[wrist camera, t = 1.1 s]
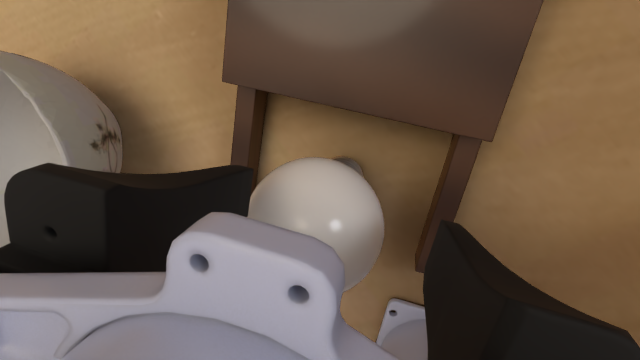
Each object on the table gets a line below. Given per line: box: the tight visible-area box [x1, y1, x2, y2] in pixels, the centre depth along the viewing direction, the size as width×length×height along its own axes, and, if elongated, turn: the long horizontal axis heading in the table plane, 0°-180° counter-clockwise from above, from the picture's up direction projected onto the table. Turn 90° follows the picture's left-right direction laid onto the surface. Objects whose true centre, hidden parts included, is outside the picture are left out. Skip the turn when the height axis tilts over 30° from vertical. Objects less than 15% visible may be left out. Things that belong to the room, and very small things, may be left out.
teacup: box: [0, 51, 123, 248], centre depth 25 cm, size 15×12×8 cm
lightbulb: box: [247, 156, 384, 293], centre depth 19 cm, size 6×6×11 cm
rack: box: [222, 0, 543, 273], centre depth 20 cm, size 18×14×6 cm
